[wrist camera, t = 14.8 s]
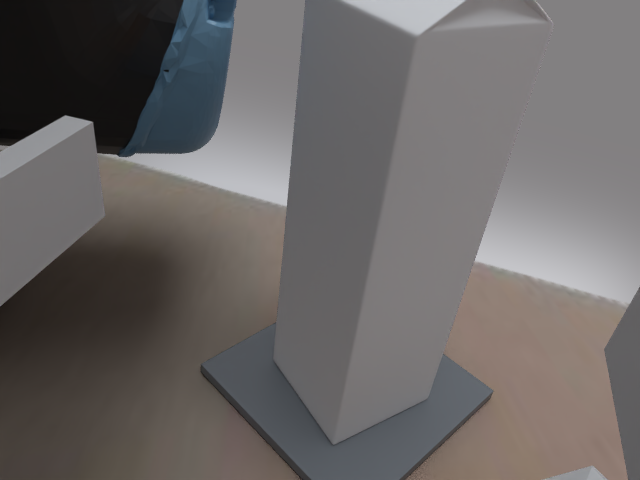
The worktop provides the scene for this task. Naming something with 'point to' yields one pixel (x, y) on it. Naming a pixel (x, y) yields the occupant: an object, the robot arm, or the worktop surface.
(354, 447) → the coaster
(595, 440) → the worktop surface
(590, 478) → the die
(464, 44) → the milk
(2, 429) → the worktop surface
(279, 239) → the worktop surface
